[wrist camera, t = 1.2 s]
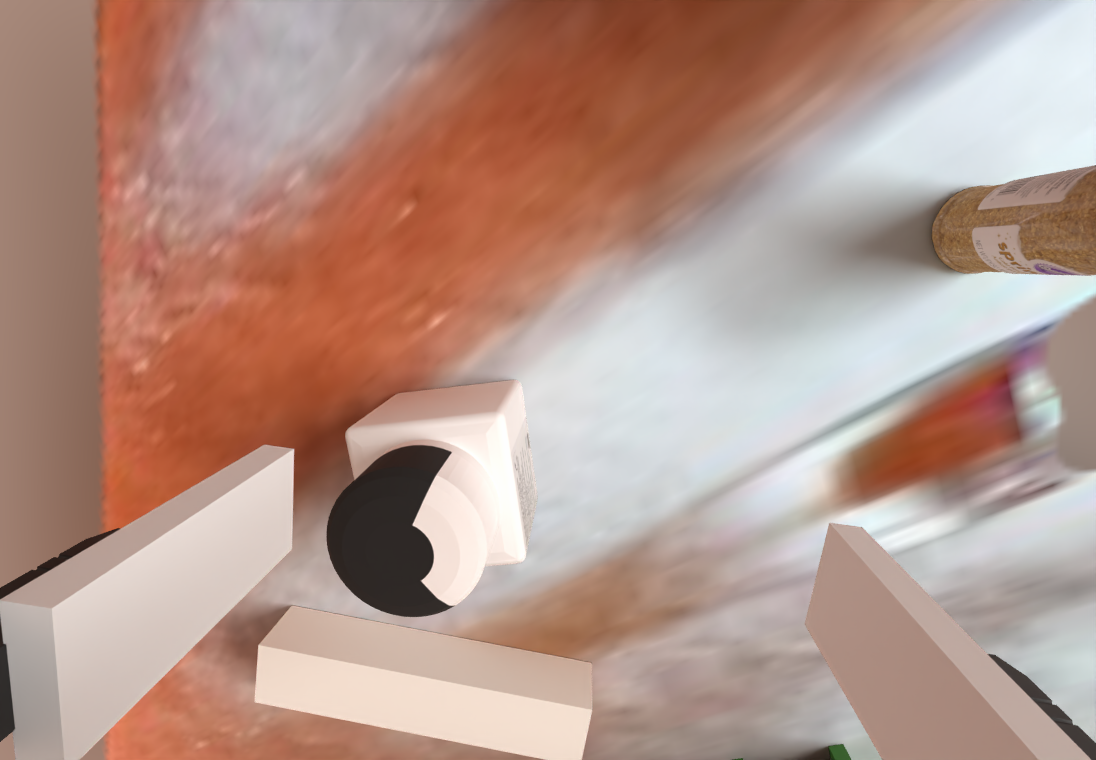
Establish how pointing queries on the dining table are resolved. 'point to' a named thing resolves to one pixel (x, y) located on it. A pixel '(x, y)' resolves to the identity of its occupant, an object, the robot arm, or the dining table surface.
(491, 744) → the white rectangular bar
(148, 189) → the dining table surface
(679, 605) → the dining table surface
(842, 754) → the hardback book
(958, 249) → the sprinkles bottle
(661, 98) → the dining table surface
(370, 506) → the container
